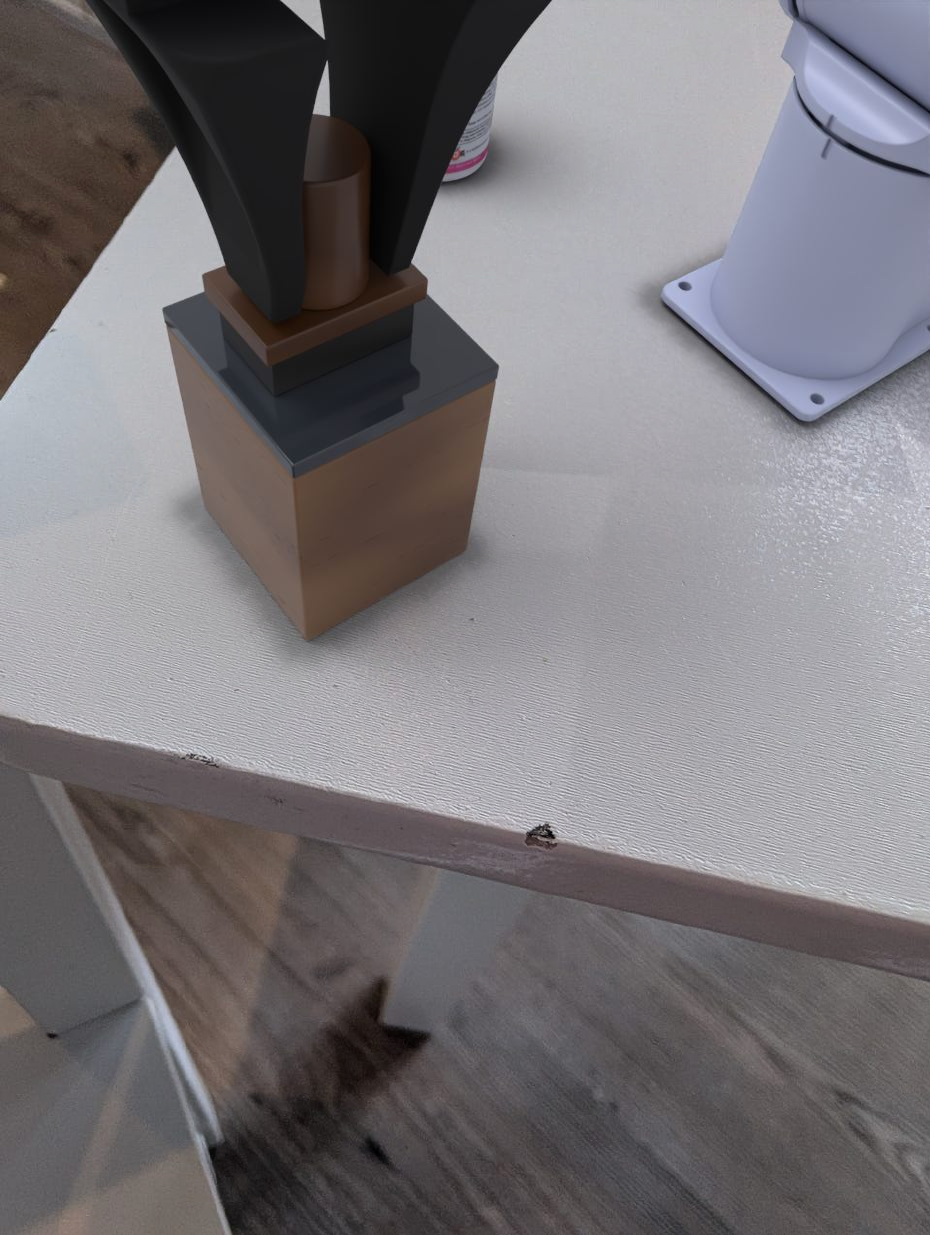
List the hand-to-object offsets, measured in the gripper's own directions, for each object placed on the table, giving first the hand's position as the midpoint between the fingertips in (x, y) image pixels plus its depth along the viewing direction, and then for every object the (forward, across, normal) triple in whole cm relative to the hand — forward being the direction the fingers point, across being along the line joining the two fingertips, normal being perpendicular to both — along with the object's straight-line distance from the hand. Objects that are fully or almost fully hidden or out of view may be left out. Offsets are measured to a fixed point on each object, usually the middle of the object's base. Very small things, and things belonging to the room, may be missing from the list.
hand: (321, 268), depth 22 cm
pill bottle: (+10, -15, -14) cm, 23 cm away
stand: (+10, 0, 0) cm, 10 cm away
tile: (+3, 0, 0) cm, 3 cm away
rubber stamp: (+2, 0, 0) cm, 2 cm away
